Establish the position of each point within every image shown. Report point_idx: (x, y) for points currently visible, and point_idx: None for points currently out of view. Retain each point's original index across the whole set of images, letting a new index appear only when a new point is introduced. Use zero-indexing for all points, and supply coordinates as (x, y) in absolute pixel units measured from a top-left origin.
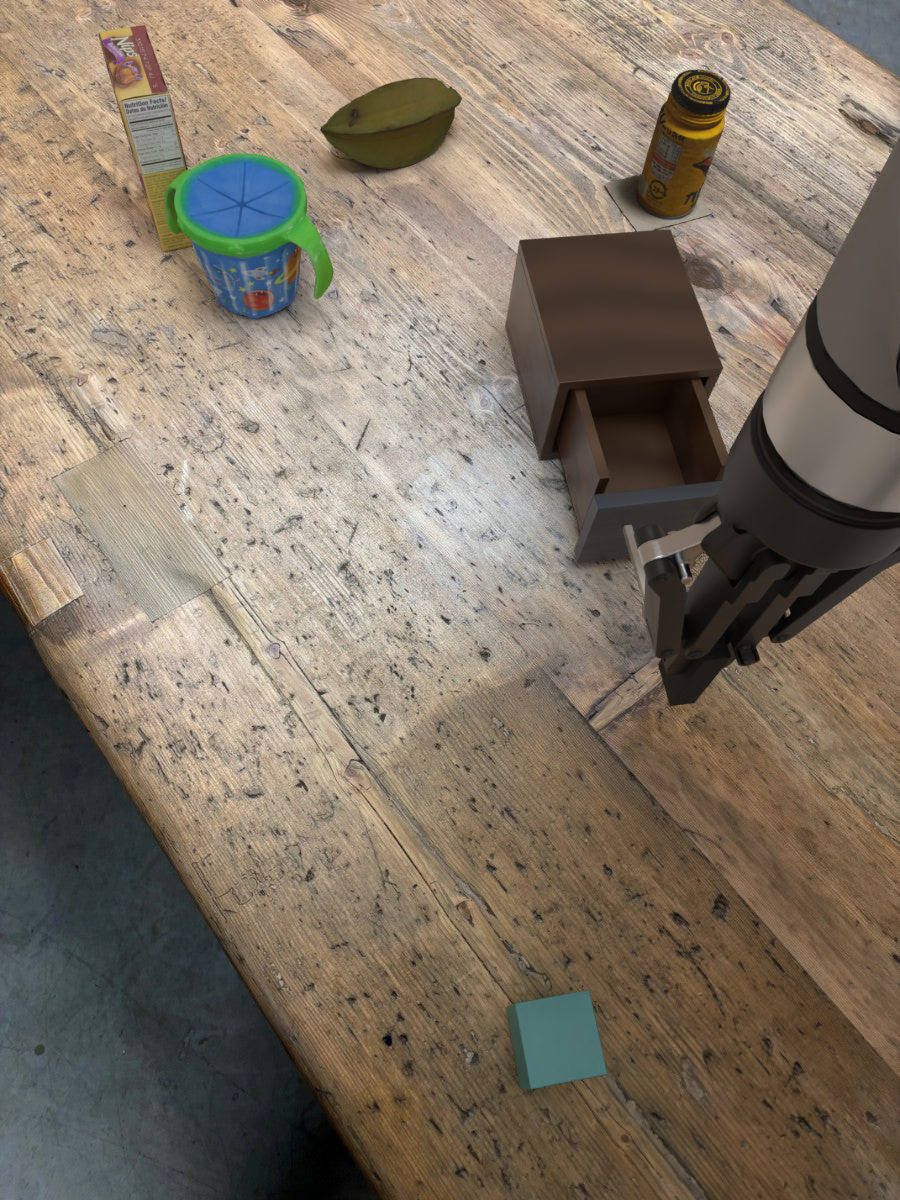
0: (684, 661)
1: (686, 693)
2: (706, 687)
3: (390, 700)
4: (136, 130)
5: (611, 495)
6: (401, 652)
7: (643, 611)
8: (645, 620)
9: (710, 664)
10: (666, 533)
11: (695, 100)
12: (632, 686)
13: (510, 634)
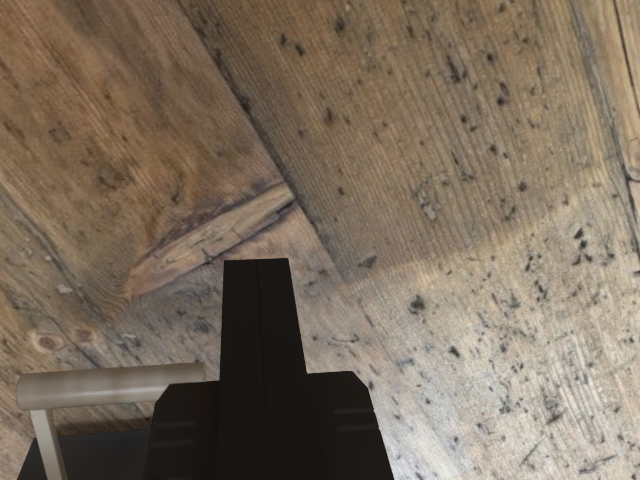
0: (343, 444)
1: (273, 301)
2: (223, 320)
3: (561, 255)
4: None
5: None
6: (524, 315)
7: (205, 380)
8: (204, 366)
9: (283, 456)
10: (130, 478)
11: None
12: (211, 244)
13: (374, 328)
